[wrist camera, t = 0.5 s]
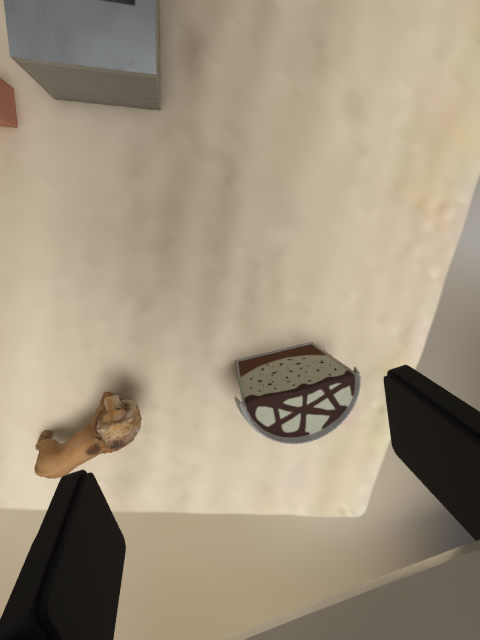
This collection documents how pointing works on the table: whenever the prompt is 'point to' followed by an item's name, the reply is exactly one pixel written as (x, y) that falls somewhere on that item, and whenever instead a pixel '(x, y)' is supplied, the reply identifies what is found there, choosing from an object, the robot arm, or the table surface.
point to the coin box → (89, 49)
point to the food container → (296, 393)
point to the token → (7, 105)
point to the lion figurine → (90, 438)
